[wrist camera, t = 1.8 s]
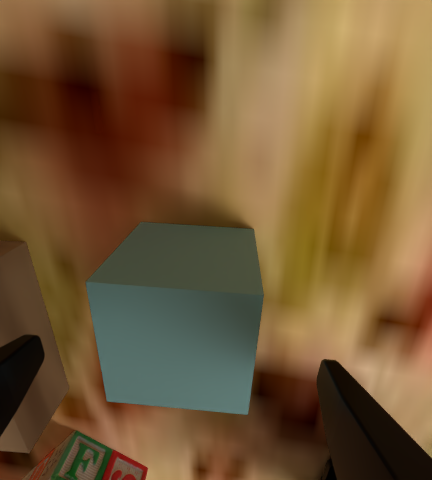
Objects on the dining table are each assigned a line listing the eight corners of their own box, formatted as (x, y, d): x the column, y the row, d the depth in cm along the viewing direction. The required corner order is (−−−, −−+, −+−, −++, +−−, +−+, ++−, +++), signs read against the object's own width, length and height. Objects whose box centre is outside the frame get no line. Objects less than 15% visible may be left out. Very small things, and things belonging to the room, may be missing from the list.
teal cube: (253, 228, 12) (263, 295, 8) (244, 318, 14) (247, 414, 10) (141, 221, 12) (85, 281, 8) (148, 311, 14) (107, 401, 10)
